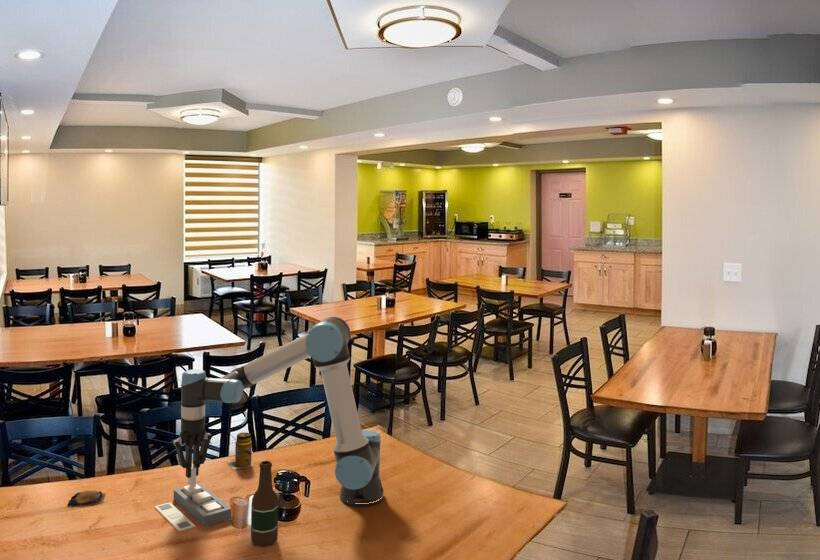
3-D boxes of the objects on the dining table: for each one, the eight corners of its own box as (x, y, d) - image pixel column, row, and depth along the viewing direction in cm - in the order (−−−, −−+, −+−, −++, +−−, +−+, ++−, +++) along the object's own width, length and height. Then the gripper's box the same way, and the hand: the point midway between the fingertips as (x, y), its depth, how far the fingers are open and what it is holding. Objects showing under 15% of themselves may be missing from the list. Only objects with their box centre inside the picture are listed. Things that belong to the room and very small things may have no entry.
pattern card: (195, 526, 192) (195, 525, 192) (178, 531, 188) (179, 530, 188) (169, 503, 207) (169, 501, 206) (154, 507, 203) (154, 506, 203)
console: (231, 519, 198) (231, 508, 197) (204, 527, 192) (204, 516, 191) (199, 492, 215) (199, 482, 215) (173, 499, 209) (173, 489, 209)
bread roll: (106, 494, 212) (106, 484, 212) (102, 505, 204) (102, 494, 204) (71, 498, 209) (71, 487, 208) (66, 509, 201) (66, 498, 200)
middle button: (211, 503, 203) (211, 495, 203) (198, 506, 200) (198, 499, 200) (205, 498, 206) (205, 491, 206) (192, 501, 203) (192, 494, 203)
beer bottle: (252, 534, 189) (254, 457, 187) (279, 534, 190) (280, 457, 187) (248, 547, 181) (250, 467, 179) (275, 547, 182) (277, 467, 180)
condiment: (254, 466, 240) (255, 435, 239) (232, 470, 235) (233, 439, 234) (248, 459, 246) (248, 430, 245) (227, 463, 241) (227, 433, 240)
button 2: (221, 514, 198) (221, 506, 197) (208, 518, 195) (208, 510, 194) (215, 509, 201) (215, 501, 201) (202, 513, 198) (202, 505, 198)
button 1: (201, 495, 209) (201, 487, 208) (188, 498, 206) (188, 491, 205) (196, 490, 212) (196, 483, 212) (183, 493, 209) (183, 486, 209)
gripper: (207, 410, 213) (205, 477, 216) (168, 417, 205) (168, 486, 207) (216, 416, 208) (215, 484, 210) (177, 423, 199) (177, 494, 201)
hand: (191, 485), depth 209 cm, fingers closed
